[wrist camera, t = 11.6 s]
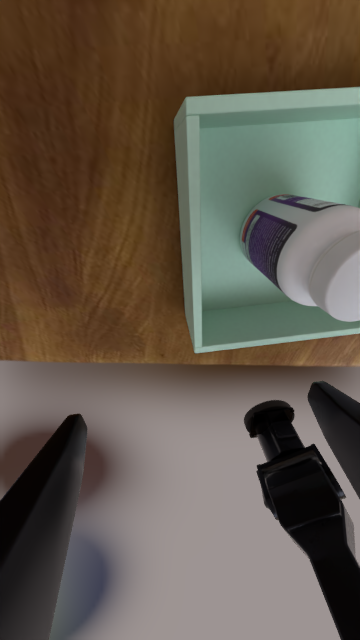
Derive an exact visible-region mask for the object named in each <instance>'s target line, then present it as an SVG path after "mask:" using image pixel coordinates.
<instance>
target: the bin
mask: <svg viewBox="0 0 360 640" xmlns="http://www.w3.org/2000/svg"><path fill="white" fill-rule="evenodd" d="M174 134H175V151H176V168H177V185H178V202H179V219H180V236H181V253H182V270H183V286H184V303H185V316H186V320H187V324H188V328H189V332H190V336H191V340H192V344H193V348H194V353H203V352H211V351H219V350H228V349H236V348H244V347H252V346H260V345H268V344H277V343H285V342H293V341H301V340H309V339H317V338H326V337H334V336H342V335H350V334H358V333H360V320H359V321H353V322H346V321H340V320H337V319H335V318H333V317H332V316H331V315H329V314H328V313H327V312H325V311H324V310H323V309H321V308H320V307H318V306H306V305H302V304H299V303H296V302H295V301H293V300H291V299H290V298H289V297H287V296H286V295H285V294H284V293H283V292H282V291H281V290H280V289H279V288H277V287H276V286H275V285H274V284H273V283H272V282H271V281H270V280H269V279H268V278H267V277H266V276H265V275H263V274H262V273H261V272H260V271H259V270H258V269H257V268H256V267H254V266H253V265H252V264H251V263H250V262H249V261H248V260H247V259H246V257H245V256H244V254H243V252H242V249H241V245H240V233H241V228H242V225H243V223H244V221H245V219H246V217H247V215H248V214H249V213H250V211H251V210H252V209H253V208H254V207H255V206H256V205H257V204H258V203H259V202H261V201H262V200H264V199H266V198H268V197H270V196H273V195H278V194H289V195H295V196H301V197H307V198H312V199H317V200H323V201H328V202H334V203H339V204H345V205H350V206H354V207H358V208H360V87H347V88H330V89H313V90H296V91H278V92H261V93H244V94H227V95H210V96H192V97H186V98H185V100H184V102H183V103H182V105H181V107H180V109H179V111H178V113H177V115H176V117H175V118H174Z"/></svg>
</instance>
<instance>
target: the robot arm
mask: <svg viewBox="0 0 360 640" xmlns="http://www.w3.org/2000/svg"><path fill="white" fill-rule="evenodd" d="M308 401H309V403H310V406H311V408H312V410H313V412H314V415H315V417H316V419H317V422H318V424H319V426H320V428H321V430H322V432H323V435H324V436H325V439H326V441H327V442H328V444H329V446H330V448H331V449H332V451H333V453H334V455H335V457H336V458H337V460H338V462H339V464H340V465H341V467H342V469H343V471H344V472H345V474H346V476H347V478H348V479H349V481H350V483H351V485H352V486H353V488H354V490H355V492H356V493H357V495H358V497H359V499H360V403H359V402H357V401H355V400H354V399H352V398H351V397H349V396H347V395H346V394H344V393H342V392H341V391H339V390H338V389H336V388H334V387H333V386H331V385H330V384H328V383H326V382H324V381H319V382H313V383H312V385H311V388H310V390H309V393H308ZM293 414H294V409H293V408H292V407H289V408H282V409H274V410H267V411H260V412H255V413H253V416H252V421H251V427H250V433H249V435H250V437H251V438H254V437H258V440H259V442H260V445H261V447H262V450H263V452H264V455H265V457H266V460H267V462H266V463H264V464H261V465H260V464H259V465H257V469H258V471H257V475H258V478H259V480H260V484H261V488H262V493H263V499H264V504H265V506H266V507H267V508H269V509H270V510H271V512H272V513H273V515H274V517H275V519H276V520H279V522H280V524H281V526H282V527H283V528H284V530H285V531H286V532H287V534H288V535H289V536H290V538H291V539H292V540H293V541H294V543H295V544H296V545H297V546H298V547H299V548H300V549H301V550H302V551H303V553H304V554H305V555H306V556H307V557H308V558H309V559H310V562H311V564H312V566H313V569H314V572H315V574H316V577H317V579H318V582H319V584H320V587H321V589H322V592H323V595H324V597H325V600H326V602H327V605H328V607H329V610H330V613H331V615H332V618H333V620H334V623H335V625H336V628H337V630H338V633H339V635H340V638H341V640H360V565H359V564H358V562H357V560H356V557H355V541H354V525H353V522H352V520H351V518H350V516H349V514H348V512H347V511H346V509H345V507H344V505H343V503H342V501H341V500H342V499H345V498H346V496H345V494H344V492H343V491H342V489H341V487H340V485H339V483H338V482H337V481H336V478H335V477H334V475H333V473H332V472H331V470H330V468H329V467H328V465H327V464H326V462H325V460H324V459H323V457H322V455H321V454H320V452H319V451H318V449H317V447H316V446H315V444H312V445H311V446H309V447H306V448H305V447H304V445H303V443H302V442H301V440H300V438H299V436H298V434H297V432H296V431H295V429H294V427H293V425H292V424H291V420H292V417H293ZM86 440H87V426H86V424H85V421H84V419H83V417H82V416H81V414H73V415H69V416H68V417H67V418H66V419H65V420H64V421H63V423H62V424H61V425H60V426H59V428H58V429H57V430H56V432H55V433H54V434H53V435H52V437H51V438H50V439H49V440H48V441H47V443H46V444H45V445H44V447H43V448H42V449H41V450H40V451H39V453H38V454H37V455H36V456H35V458H34V459H33V460H32V462H31V463H30V464H29V465H28V467H27V468H26V469H25V470H24V472H23V473H22V474H21V475H20V477H19V478H18V479H17V480H16V482H15V483H14V484H13V485H12V487H11V488H10V489H9V490H8V492H7V493H6V494H5V495H4V497H3V498H2V499H1V500H0V640H49V637H50V631H51V627H52V622H53V617H54V612H55V607H56V603H57V598H58V593H59V588H60V584H61V578H62V574H63V569H64V564H65V559H66V554H67V550H68V544H69V540H70V535H71V531H72V526H73V521H74V516H75V511H76V506H77V501H78V497H79V492H80V487H81V482H82V477H83V469H84V460H85V450H86Z"/></svg>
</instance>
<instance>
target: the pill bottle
mask: <svg viewBox="0 0 360 640" xmlns="http://www.w3.org/2000/svg"><path fill="white" fill-rule="evenodd" d="M240 245H241V249H242V252H243V254H244V256H245V257H246V259H247V260H248V261H249V262H250V263H251V264H252V265H253V266H254V267H256V268H257V269H258V270H259V271H260V272H261V273H262V274H263V275H265V276H266V277H267V278H268V279H269V280H270V281H271V282H272V283H273V284H274V285H275V286H276V287H277V288H279V289H280V290H281V291H282V292H283V293H284V294H285V295H286V296H287V297H289V298H290V299H291V300H293V301H295V302H296V303H299V304H302V305H306V306H318V307H320V308H321V309H323V310H324V311H325V312H327V313H328V314H329V315H331V316H332V317H333V318H335V319H337V320H340V321H346V322H353V321H359V320H360V208H358V207H354V206H350V205H345V204H339V203H334V202H328V201H323V200H317V199H312V198H307V197H301V196H295V195H289V194H278V195H273V196H270V197H268V198H266V199H264V200H262V201H261V202H259V203H258V204H257V205H256V206H255V207H254V208H253V209H252V210H251V211H250V213H249V214H248V215H247V217H246V219H245V221H244V223H243V225H242V228H241V233H240Z"/></svg>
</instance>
